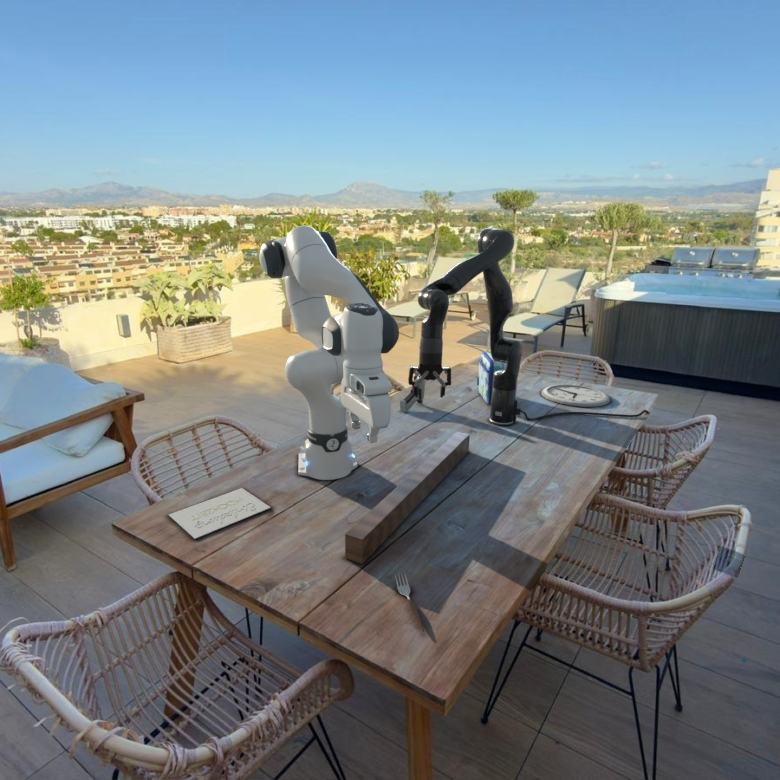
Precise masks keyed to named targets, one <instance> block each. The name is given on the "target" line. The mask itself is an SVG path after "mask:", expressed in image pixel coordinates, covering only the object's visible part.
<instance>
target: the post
mask: <svg viewBox="0 0 780 780" xmlns="http://www.w3.org/2000/svg"><path fill="white" fill-rule="evenodd" d="M470 438H471V434H470V433H468V432H467V433H466V432H461V431H456V432H455V433H454V434H453V435H452V436H450V437H449V438H448V439H447V440H446V441H445V442H444V443H443V444H442V445H441V446H440V447H439V448H438V449H436V450H435V451H434V452H433V453H431V455H430V456H429V457H428V458H427V459H426V460H425V461H423V462H422V463H421V464H420V465H419V466H418V467H417V468H416V469H414V470H413V471H412V472H411V473H410V474H409V475H408V476H406V478H404V479H403V480H402V481H401V482H400V483H399V484H398V485H397V486H396V487H395V488H394V489H393V490H392V491H391V492H390V493H388V494H387V495H386V496H385V497H384V498H383V499H381V501H380V502H378V503H377V504H376V505H375V506H374V507H372V509H370V511H368V512H367V514H365V515H364V516H363V517H361V519H360V520H359V521H358V522H356V523H355V524H354V525H353V526H352V527H351V528H350V529H349V530H347V532H346V533H344V540H345V541H344V554H345V556H344V558H345V559H346V560H349V561H352V562H355V563H357V564H360V565H363V564H364V563H365V562H366V561H367V560H368V559H369V558H370V557H371V556H372V555H373V554H374V553H375V551H377V549H379V548H380V546H381V545H382V544H384V542H385V541H386V540H387V539H388V537H390V536H391V535H392V533H393V532H394V531H396V530H397V528H399V526H400V525H401V524H402V523H403V522H404V521H405V520H406V519H407V518H408V516H409V515H410V514H411V513H412V512H413V511H414V510H415V509H416V508H417V507H418V506H419V505H420V504H421V503H422V501H424V500H425V498H426V497H428V495H429V494H430V493H431V492H432V491H433V490H434V489H435V488H436V487H437V486H438V485H439V484H440V482H442V480H444V479H445V477H446V476H448V474H449V473H450V472H451V471H452V470H453V469H454V468H455V466H457V465H458V463H459V462H461V460H462V459H463V458H464V457H466V455H467V454H468V453H469V451H470Z"/></svg>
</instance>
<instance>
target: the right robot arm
mask: <svg viewBox="0 0 780 780" xmlns="http://www.w3.org/2000/svg"><path fill="white" fill-rule="evenodd" d="M476 244H477V253H478V254H476V255H474V256H472V257H470V258H467V259H465V260H463V261H461V262H459V263H457V264H456V265H454V266H453V267H452V268H451V269H450V270H449V271H447V272H446V273H445V274H444V275H442V277H440V278H438V279H436V280H435V281H432V282H431V283H429V284H428V285H426V286H425V287H423V288H422V289H421V291H420V292H419V293H418V296H417V304H418V305H419V307H420V308H421V309H424V310H427V311H429V314H428V316H427V317H425V318H423V319H422V321H421V325H420V340H419V352H418V353H419V354H418V355H419V357H418V366H413V365H409V368H408V377H407V378H408V379H407V382H408V383H407V384H408V385H409V386H412V385H413V394H414V396H415V397H418V385H419V383H420V382H422V380H423V379H425V381H435V380H437V381H438V382H439V384H440V387H439V388H440V389H439V397H440V398H444V397H445V396H446V388H447V386H451V385H452V368H451V366H446V367H444V366H443V365H442V364H443V347H444V342H443V334H444V323H445V320H446V316H447V313H448V310H449V305H450V298H449V296H454V295H456V294H458V293H459V292H460V291H461V290H462V289H463V288H464V287H466V286H467V285H468V284H469V283H470V282H471V281H472V280H473V279H474V278H476V277H477V276H478V275H480V274H482V275H483V282H484V289H485V290H484V291H485V299H486V307H487V313H488V315H487V316H488V323H489V349H490V351H489V352H491V356H492V358H493V360H495V361H498V362H503V363H507V366H506V369H503V370H497V371H495V372H494V374H493V385H492V398H491V404H490V410H489V411H490V413H489V414H490V415H489V422H490V423H491V424H494V425H497V426H511V425H513V424H516V423H517V416H520V415H521V413H522V414H523V415H524V418H525V419H526V420H527V421H537V420H541V419H544V418H550V417H554V416H561V415H593V416H606V417H607V416H608V417H621V418H622V417H623V418H637V417H640V416H642V415H643V414H644V413H645V414H650V412H649V411H648V410H647V409H643V410H641V411H640V413H638V414H621V413H605V412H590V411H563V412H555V413H551V414H546V415H540V416H537V417H533V418H530V417H528V416H529V415H528V414H527V412H525V411H524V410H523V409H522V408H521V407H520V406H518V399H517V388H518V378H519V375H520V369H521V361H522V355H523V344H522V342H521V341H519V340H517V339H513V338H507V337H506V338H505V336H504V326H505V325H506V322H507V321H508V319H509V317H510V315H511V313H512V312H513V309H514V297H513V290H512V287H511V285H510V283H509V281H508V279H507V277H506V276H505V274H504V272H503V271H502V269H501V266H500V264H499V262H500V261H502V260H504V259H505V258H507V256H509V255H510V254H511V252H512V251H513V249H514V246H515V237H514V235H513V234H512V232H511V231H509V230H506V229H501V228H491V227H490V228H489V227H487V228H484V229H482V230H481V231H480V232H479V234H478V236H477V243H476ZM416 371H418V372H419V374H420V375H419V376H418V377H417V379H416V380H415V381H414V375H415V372H416ZM443 372H444V374H445V375H446V380H445V381H444V379H443V378H442V376H441V374H442V373H443ZM421 378H422V379H421Z"/></svg>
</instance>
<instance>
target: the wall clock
mask: <svg viewBox="0 0 780 780" xmlns="http://www.w3.org/2000/svg"><path fill="white" fill-rule="evenodd" d="M541 395H542V396H543V398H545V399H547V400H549V401H551V402H553V403H557V404H560V405H567V406H571V407H578V408H579V407H580V408H594V407H595V408H596V407H602V406H606V405H608V404H609V403H610V402H611V398H610V396H609V395H608V394H606V393H605V392H603V391H602V390H598V389H595V388H593V387H588V386H585V385H584V386H583V385H576V384H555V385H550V386H547V387H545V388H544V389H542V390H541Z"/></svg>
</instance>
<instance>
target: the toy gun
mask: <svg viewBox="0 0 780 780" xmlns="http://www.w3.org/2000/svg"><path fill="white" fill-rule="evenodd" d="M419 375H420V374H419V372H418V371H416V372H415V374H414V375H413V381H415V380H416V379H417V377H418V376H419ZM421 379H422V378H421ZM425 383H426V380H425V379H423V380H422V382H420V383H419V385H418V397H415V396H414V394H413V385H411V389H410V392H409V393H408V394H407V395H406V397H405V398H403V399H401V400H400V401H399V410H400V412H403V413H407V412H408V411H409V410H411V409H412V407H414V405H415V404H416V403H417V404H418V405H423V403H424V400H425V399H424V398H425V390H426V384H425Z"/></svg>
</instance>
